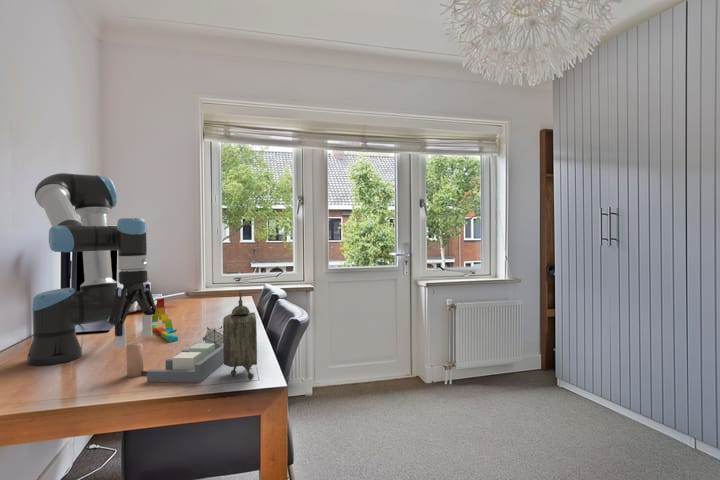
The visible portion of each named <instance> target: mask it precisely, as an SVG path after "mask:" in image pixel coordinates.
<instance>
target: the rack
mask: <svg viewBox="0 0 720 480" xmlns="http://www.w3.org/2000/svg"><path fill="white" fill-rule="evenodd" d="M182 352H189V349H182V350H181V353H182ZM221 365H224V351H223V345H222V346H220V347H219V348H215V351H213V352H212V353H211V354H209V355H208V356H206V357H205V358H204V359H202V360H201V361H199V362H198V363H197V364H195V370H173V359H172V358H167V359H166V360H165V369H148V370H146V371H147V375H146V382H147V383H201V382H203V381H204V380H205V379H206V378H208V377H209V376H210V375H211V374H212V373H214V371H216V370H217V369H218V368H220V367H221Z"/></svg>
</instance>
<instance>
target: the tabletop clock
mask: <svg viewBox="0 0 720 480" xmlns="http://www.w3.org/2000/svg"><path fill="white" fill-rule="evenodd" d="M238 293H239V300H238V305H237V306H235V307H234V308H233V309H232V311H231V313H229V314H227V315H226V316H224V317H223V321H222V331H223V351H224V363H223V365H225V366H226V367H229V368H232V370H231V371H230V375H231V376H236V374H237V370H236V369H237V367H243V368H244V369H245V371H246V372H247V378H248V379H249V380H252V379H254V373H251V371H250V369H251V368H252V367H253V366H255V365H258V343H257V342H258V338H257V337H258V336H257V335H258V334H257V333H258V332H257V316H256V312H251V311H250V309H249V308H248V306H246V305H243V300H242V298H243V297H242V295H243V294H242V290H239V292H238Z"/></svg>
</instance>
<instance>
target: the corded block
mask: <svg viewBox="0 0 720 480" xmlns="http://www.w3.org/2000/svg"><path fill="white" fill-rule="evenodd" d="M126 345H127V347H125V348H126V351H125V352H126V377H128V378H136V377H141V376H143V375H146V376H147V371H148V370H144V343H143V342H132V343H128V344H126ZM171 359H173V370H195V364H197V363H198V362H199V361H201V360H202V354H201V352H182V351H181V352H180V353H178V354H177V355H174V356H173V357H172V358H171Z"/></svg>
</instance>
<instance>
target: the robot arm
mask: <svg viewBox="0 0 720 480" xmlns="http://www.w3.org/2000/svg"><path fill="white" fill-rule="evenodd" d="M117 196H118V195H117V189H116V187H115V183H114V182H113V180H112V179H111V178H109V177H108V176H101V175H96V174H95V175H91V174H79V173H78V174H77V173H64V172H62V173H56V174H55V173H54V174H51V175H49V176H47V177H45V178H43V179H42V180H41V181H40V182H38V183H37V185H36V187H35V190H34V197H35V200H36V203H37V204H38V206H40V207H41V208H42V209H43V210H44V211H45V213H46V216H47V218H48V220H49V223H50V225H51V227H50V228H49V230H48V245H49V249H50V251H52V252H54V253H56V252H57V253H72V252H73V253H74V252H76V253H77V252H79V253H80V252H82V259H83V260H82V261H83V262H82V263H83V274H84V275H83V276H84V282H83V283H81V284H80V286H79V291H76V290H75V288H73V287H66V288H57V289H52V290H51V289H50V290H47V291H44V292H40V293H38V294H35V295H34V297H33V298H32V307H31V311H32V332H33V333H32V334H33V335H32V337H33V338H32V342H31V344H30V348H29V350H28V353H27V355H26V362H27V364H28V365H31V366H49V365H50V366H51V365H57V364H63V363H66V362H71V361H74V360H77V359H80V357H81V358H82V355H83V348H82V347H81V344H80V342H79V339H78V337H77V333H76V326H78V325H88V324H95V323H102V322H108V324H109V325H112V326H114V335H115V348H117V349H118V348H119V349H121V348H126V347H127V345H128V344H127V324H126V323H125V321H126V319H127V316H128V314H129V311H130V310H131V309H130V308H131V307H132V305H133V304H134V303H135V302H136V303H137V304H138V306H139V308H140V309H141V311H142V313H143V314H142V316H141V318H142V321H141V322H142V337H152V336H153V330H152V325H153V322H152V314H155V313H156V306H157V305H156V303H155V301H154V297H153V295H152V291H151V284H150V283H147V282H148V280H149V279H148V271H147V270H146V269H147V268H148V257H147V253H148V251H147V248H148V247H147V231H148V230H147V225H146V224H147V223H146V220H145V219H144V218H139V217H124V218H123V217H121V218H119V219H118V220H117V225H109V219H108V218H109V215H110V214H111V212H113V210H112V209H113V208H115V207H116V206H117V198H118V197H117ZM79 216H80V217H79ZM111 251H117V254H118V255H117V256H118V259H117V260H118V264H117V267H118V268H117V269H118V270H120V271H119V272H118V281H116V280H115V279H113V271H112V270H113V269H112V257H111ZM118 284H119V285H122V287H120V286H118Z"/></svg>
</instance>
